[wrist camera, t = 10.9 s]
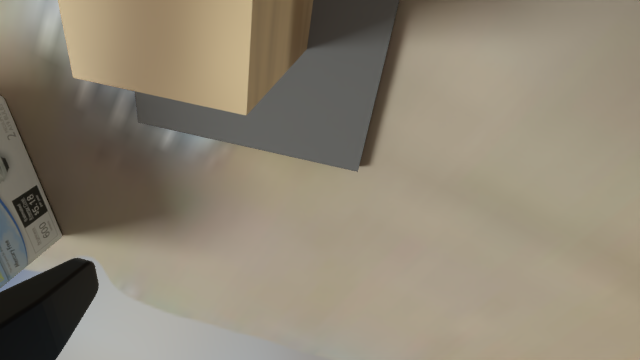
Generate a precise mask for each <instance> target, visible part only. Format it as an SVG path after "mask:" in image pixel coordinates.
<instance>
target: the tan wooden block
mask: <svg viewBox="0 0 640 360" xmlns="http://www.w3.org/2000/svg"><path fill="white" fill-rule="evenodd" d="M58 3H59V8H60V14H61V19H62V24H63V29H64V34H65V39H66V44H67V49H68V54H69V59H70V64H71V70H72V75H73V78H76V79H81V80H86V81H90V82H95V83H99V84H104V85H109V86H113V87H118V88H122V89H127V90H131V91H136V92H141V93H145V94H150V95H154V96H159V97H164V98H168V99H173V100H177V101H182V102H186V103H191V104H196V105H200V106H205V107H209V108H214V109H219V110H223V111H228V112H232V113H237V114H242V115H247V114H248V113H249V112H250V111H251V110H252V109H253V108H254V107H255V106H256V104H257V103H258V102H259V101H260V100H261V99H262V98H263V97H264V96H265V95H266V93H267V92H268V91H269V90H270V89H271V88H272V87H273V86H274V85H275V84H276V83H277V81H278V80H279V79H280V78H281V77H282V76H283V75H284V74H285V73H286V72H287V70H288V69H289V68H290V67H291V66H292V65H293V64H294V63H295V62H296V61H297V59H298V58H299V57H300V56H301V55H302V54H303V53H304V52H305V51H306V50H307V44H308V37H309V29H310V22H311V14H312V6H313V0H58Z"/></svg>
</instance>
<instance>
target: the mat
mask: <svg viewBox="0 0 640 360" xmlns="http://www.w3.org/2000/svg"><path fill="white" fill-rule="evenodd" d="M398 4H399V0H313V6H312V14H311V22H310V29H309V37H308V44H307V50H306V51H305V52H304V53H303V54H302V55H301V56H300V57H299V58H298V59H297V61H296V62H295V63H294V64H293V65H292V66H291V67H290V68H289V69H288V70H287V72H286V73H285V74H284V75H283V76H282V77H281V78H280V79H279V80H278V81H277V83H276V84H275V85H274V86H273V87H272V88H271V89H270V90H269V91H268V92H267V93H266V95H265V96H264V97H263V98H262V99H261V100H260V101H259V102H258V103H257V104H256V106H255V107H254V108H253V109H252V110H251V111H250V112H249V113H248V114H247V115H242V114H237V113H232V112H228V111H223V110H219V109H214V108H209V107H205V106H200V105H196V104H191V103H186V102H182V101H177V100H173V99H168V98H164V97H159V96H154V95H150V94H145V93H141V92H136V91H135V97H136V107H137V116H138V122H139V123H144V124H148V125H152V126H157V127H161V128H166V129H170V130H175V131H179V132H184V133H188V134H192V135H197V136H201V137H206V138H210V139H215V140H219V141H224V142H228V143H232V144H237V145H241V146H246V147H250V148H255V149H259V150H264V151H268V152H273V153H277V154H281V155H286V156H290V157H295V158H299V159H304V160H308V161H313V162H317V163H321V164H326V165H330V166H335V167H339V168H344V169H348V170H353V171H357V172H358V168H359V164H360V160H361V156H362V152H363V148H364V144H365V140H366V135H367V131H368V127H369V123H370V119H371V115H372V111H373V107H374V103H375V98H376V94H377V90H378V86H379V82H380V78H381V74H382V70H383V66H384V61H385V57H386V53H387V49H388V45H389V41H390V37H391V33H392V29H393V24H394V20H395V16H396V12H397V8H398Z"/></svg>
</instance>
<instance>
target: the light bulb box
mask: <svg viewBox="0 0 640 360" xmlns="http://www.w3.org/2000/svg"><path fill="white" fill-rule="evenodd" d="M61 237H62V234H61V231H60V229H59V227H58V225H57V222H56V220H55V217H54V215H53V213H52V210H51V208H50V206H49V203H48V201H47V198H46V196H45V194H44V191H43V189H42V187H41V184H40V182H39V180H38V177H37V175H36V173H35V170H34V168H33V165H32V163H31V161H30V158H29V156H28V153H27V151H26V149H25V146H24V144H23V142H22V139H21V137H20V135H19V132H18V130H17V127H16V125H15V123H14V120H13V118H12V116H11V113H10V111H9V108H8V106H7V104H6V101H5V99H4V98H3V97H2V96H0V288H1V287H2V286H4V285H5V284H6V283H7V282H8V281H10V280H11V279H12V278H13V277H14V276H16V275H17V274H18V273H19V272H20V271H21V270H23V269H24V268H25V267H26V266H28V265H29V264H30V263H31V262H32V261H34V260H35V259H36V258H37V257H38V256H40V255H41V254H42V253H43V252H44V251H46V250H47V249H48V248H49V247H50V246H52V245H53V244H54V243H55V242H56V241H58V240H59V239H60V238H61Z"/></svg>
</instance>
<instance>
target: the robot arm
mask: <svg viewBox="0 0 640 360" xmlns="http://www.w3.org/2000/svg"><path fill="white" fill-rule="evenodd" d="M98 285H99V284H98V279H97V274H96V269H95V265H94V263H93V262H91V261H88V260H84V259H81V258H74V259H71V260H69V261H67V262H64V263H62V264H60V265H58V266H56V267H54V268H51V269H49V270H47V271H45V272H43V273H41V274H38V275H36V276H34V277H32V278H30V279H28V280H25V281H23V282H21V283H19V284H17V285H15V286H13V287H10V288H8V289H6V290H4V291H2V292H0V360H55V359H56V358H57V357H58V355H59V354H60V352H61V351H62V349H63V347H64V346H65V345H66V343H67V341H68V340H69V338H70V337H71V335H72V333H73V332H74V330H75V328H76V327H77V325H78V323H79V322H80V320H81V318H82V317H83V315H84V314H85V312H86V310H87V309H88V307H89V305H90V304H91V302H92V301H93V299H94V297H95V295H96V293H97V291H98Z"/></svg>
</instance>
